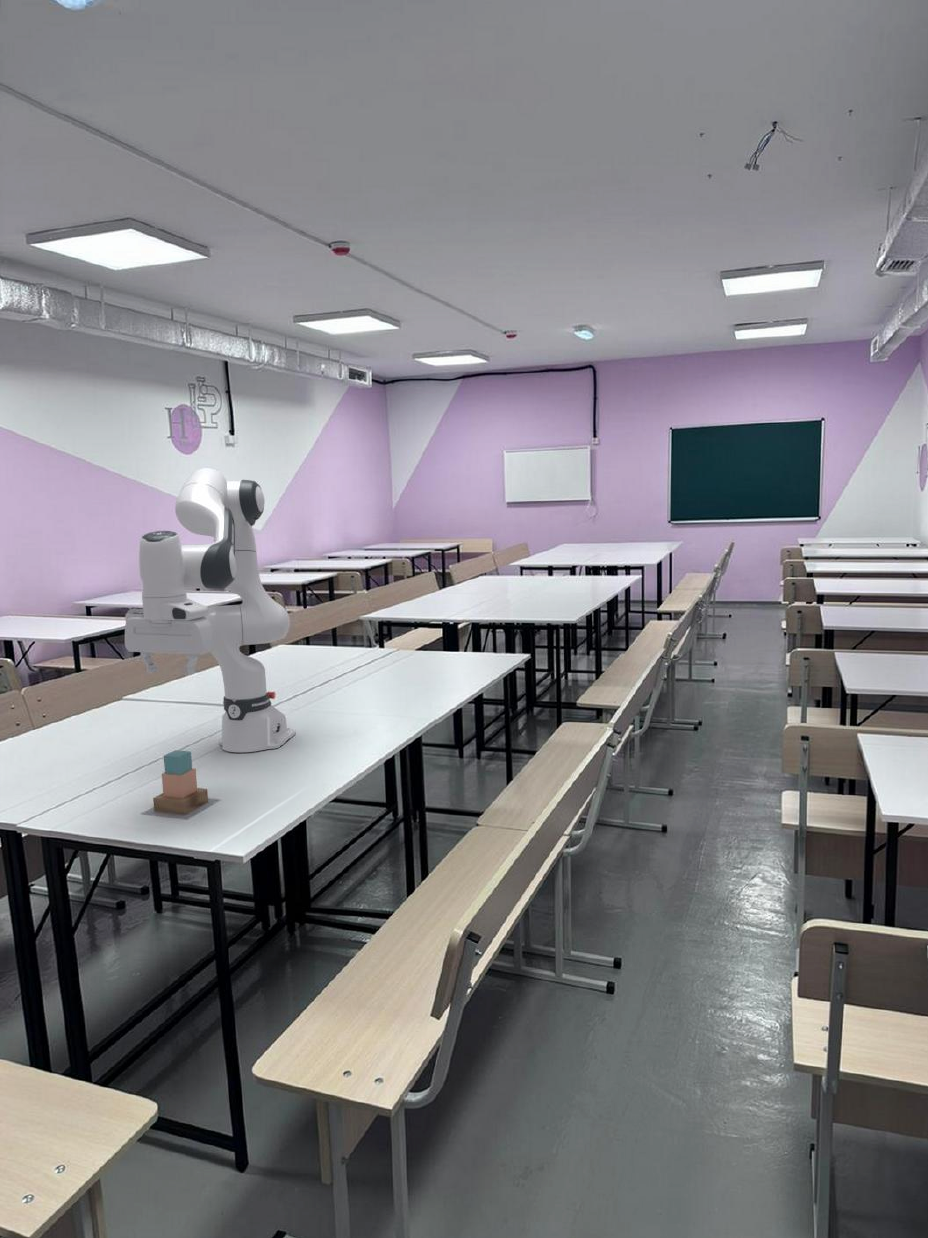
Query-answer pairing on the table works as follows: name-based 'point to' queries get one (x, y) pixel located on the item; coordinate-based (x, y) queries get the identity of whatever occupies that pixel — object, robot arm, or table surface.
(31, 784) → the table surface
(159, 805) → the base brick
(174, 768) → the teal cube
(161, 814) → the mat
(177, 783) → the terracotta cube
